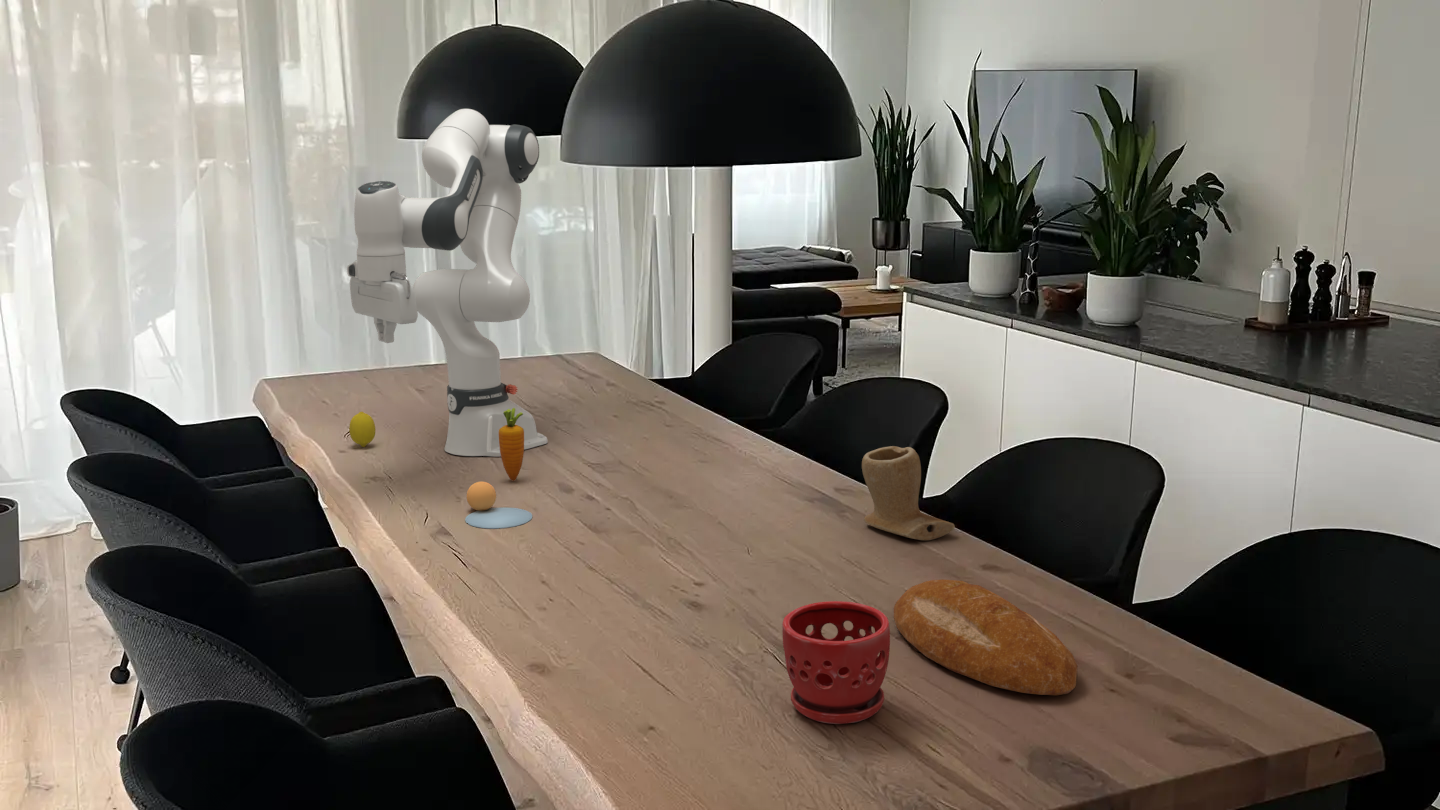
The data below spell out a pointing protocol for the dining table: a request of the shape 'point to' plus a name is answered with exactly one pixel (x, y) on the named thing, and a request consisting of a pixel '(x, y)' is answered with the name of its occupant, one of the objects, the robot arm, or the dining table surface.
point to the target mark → (498, 518)
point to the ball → (481, 496)
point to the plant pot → (836, 661)
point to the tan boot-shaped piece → (899, 494)
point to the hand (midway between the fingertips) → (386, 341)
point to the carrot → (511, 444)
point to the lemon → (362, 429)
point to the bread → (984, 638)
